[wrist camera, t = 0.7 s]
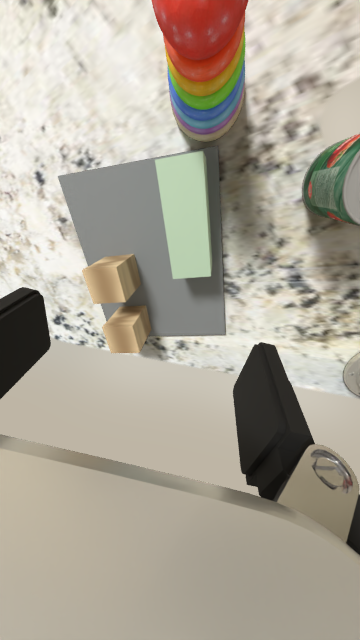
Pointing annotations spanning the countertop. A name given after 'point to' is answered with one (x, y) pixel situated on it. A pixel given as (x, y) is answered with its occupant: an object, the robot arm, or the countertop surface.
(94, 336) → the countertop surface
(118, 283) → the pillar
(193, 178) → the beam
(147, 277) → the mat
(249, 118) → the countertop surface
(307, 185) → the canned tomato
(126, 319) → the pillar
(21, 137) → the countertop surface
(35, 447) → the robot arm
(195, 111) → the stacking toy
